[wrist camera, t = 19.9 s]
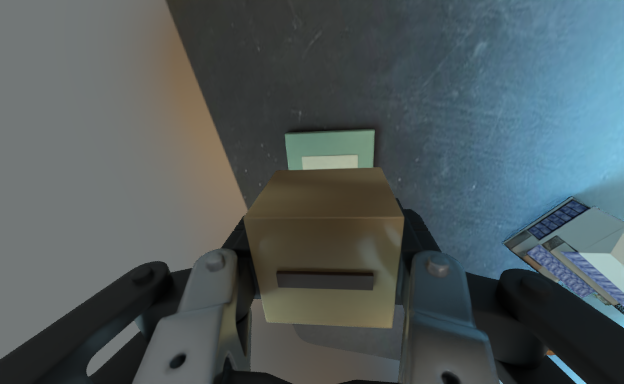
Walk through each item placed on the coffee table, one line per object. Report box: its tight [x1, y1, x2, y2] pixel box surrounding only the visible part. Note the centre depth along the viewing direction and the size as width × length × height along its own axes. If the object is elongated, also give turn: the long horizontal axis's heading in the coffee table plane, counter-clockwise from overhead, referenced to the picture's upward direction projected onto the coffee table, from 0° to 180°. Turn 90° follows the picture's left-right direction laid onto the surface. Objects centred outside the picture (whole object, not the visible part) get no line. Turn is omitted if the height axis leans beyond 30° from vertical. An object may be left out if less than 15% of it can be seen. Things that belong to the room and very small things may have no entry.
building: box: [503, 197, 624, 314], centre depth 24 cm, size 10×19×7 cm, turn 68°
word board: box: [285, 129, 375, 170], centre depth 28 cm, size 9×18×1 cm, turn 4°
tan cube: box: [243, 167, 404, 328], centre depth 9 cm, size 4×4×4 cm
